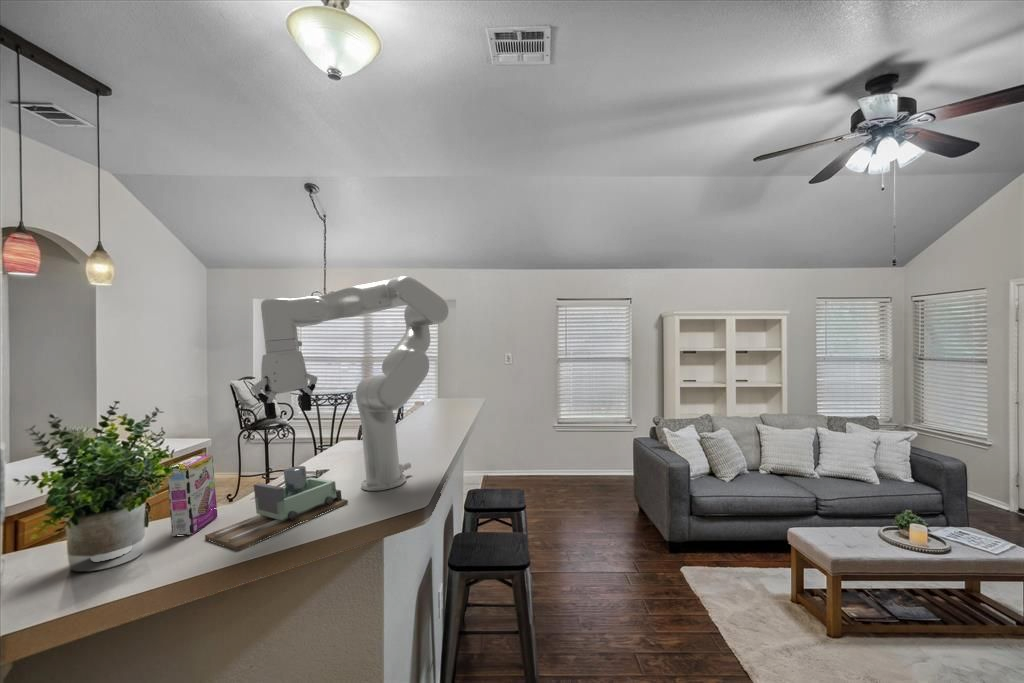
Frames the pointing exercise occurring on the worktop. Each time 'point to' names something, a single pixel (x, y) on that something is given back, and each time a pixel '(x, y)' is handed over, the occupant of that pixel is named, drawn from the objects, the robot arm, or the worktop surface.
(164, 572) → the worktop surface
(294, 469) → the metal cylinder
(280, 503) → the toy truck
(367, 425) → the robot arm
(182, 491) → the candy bar box
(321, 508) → the track
